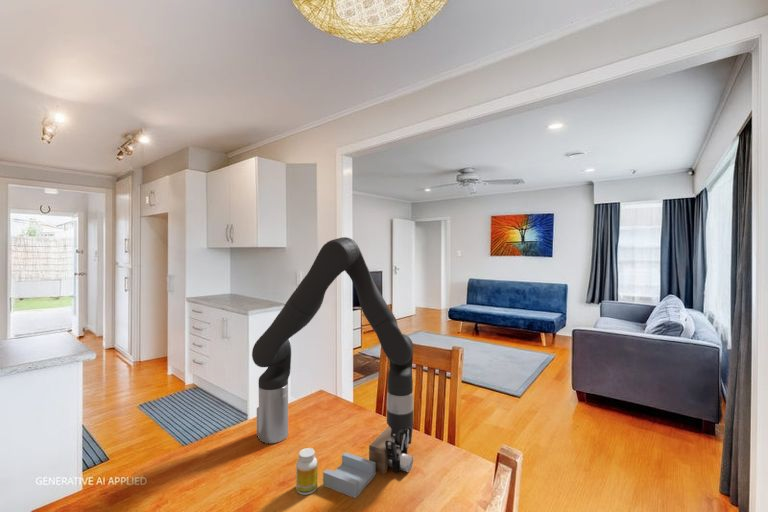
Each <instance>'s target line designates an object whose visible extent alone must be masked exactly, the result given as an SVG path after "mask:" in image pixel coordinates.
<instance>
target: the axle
mask: <svg viewBox="0 0 768 512" xmlns="http://www.w3.org/2000/svg"><path fill="white" fill-rule="evenodd" d="M396 452H397V453H398V451H396ZM413 463H414V457H413V455H411V454H408V453H407V454H405V453H402V452H401V455H400V471H402V472H403V471H404V472H406V473H411V471H412V468H413ZM387 467H391V468H392V460H390V459H388V457H387Z"/></svg>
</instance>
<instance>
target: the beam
mask: <svg viewBox="0 0 768 512" xmlns="http://www.w3.org/2000/svg"><path fill="white" fill-rule="evenodd" d="M390 435H391V428H390V426H389V425H388V426H387V427H386V428H385V429H384V430H383V431H382V432H381V433H380V434H379V435H378V436H376V438H375V439H374V440H372V442H371V443H370V444H369V445H368V460H370V461H373V462H376V472H379V473H381V474H386V473H387V472H388V466H387V452H386V446H385V442H386V440H387V441H389V440H390V439H391V436H390ZM395 445H396V444H395ZM396 446H398V447H400V446H399V445H396ZM396 451H397V450H396Z"/></svg>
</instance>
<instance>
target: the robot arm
mask: <svg viewBox="0 0 768 512" xmlns="http://www.w3.org/2000/svg"><path fill="white" fill-rule="evenodd" d="M344 272H345V273H346V274H347V275H348V276H349V278H350V280H351V281H352V283H353V287H354V288H355V290H356V294H357V298H358V302H359V305H360V306H359V307H360V308H361V311H362V313H363V315H364V317H365V318H366V320H367V322H368V324H369V325H370V326H371V328H372V330H373V331H374V332H375V334H376V336H377V339H378V342H379V343H380V346H381V348H382V350H383V352H384V354H385V356H386V357H387V359H388V360H389V369H388V374H387V375H388V376H387V394H386V424H387V425H388V426H390V428H391V435H390V436H391V439H390V440H389V441H387V440H386V442H385V446H386V452H387V457H388V459H390V460H392V467H391V471H392V472H394V473H397V474H398V473H400V472H401V470H400V455H401V452H402V453H405V454H408V450H409V448H410V445H411V444H412V437H413V430H414V394H413V393H414V392H413V388H414V387H413V385H414V384H413V382H414V381H413V379H414V378H413V359H414V343H413V341H412V339H411V338H410V336H408V335H407V334H404V333H402V331H401V330H400V328H399V326H398V322H397V321H398V320H397V319H396V316H395V314H394V313H393V312H392V310H391V309H390V307H389V305H388V304H387V302H386V300H385V299H384V297H383V295H382V293H381V292H380V290H379V288H378V286H377V284H376V283H375V281H374V278H373V276H372V274H371V272H370V269H369V268H368V265H367V264H366V261H365V259H364V256H363V254H362V252H361V249H360V247H359V245H358V243H357V242H356V241H355V240H353V239H352V238H350V237H347V236H344V237H338V238H334V239H330V240H329V241H327V242H326V243H324V244H323V245H322V247H321V248H320V250H319V251H318V254H317V255H316V257H315V259H314V261H313V263H312V265H311V266H310V269H309V270H308V271H307V273H306V275H305V276H304V277H303V279H302V280H301V281H300V283H299V284H298V285H297V287H296V289H295V290H294V291H292V292H293V293H292V294H291V295H290V297H289V298H288V300H287V301H286V303H285V304H284V306H283V308H282V309H281V310H280V312H278V314H277V316H276V317H275V318H274V320H273V321H272V323H271V324H270V325H269V327H268V328H267V329H266V330H265V331H264V332H263V333H262V334H261V336H259V338H258V339H257V340H256V342H255V343H254V345H253V347H252V351H251V357H252V362H253V363H254V364H255V366H257V367H259V368H266V370H264V372H263V373H262V374H261V375H260V376H259V377H258V407H257V408H256V437H257V436H259V437H258V439H260V440H259V441H260V442H261V441H262V442H261V443H263V442H265V443H264V444H268V443H269V444H270V445H271V444H276V443H279V442H282V441H284V440H285V439H286V438H287V437H288V436H289V378H290V375H291V364H292V345H291V343H290V338H292V337H293V336H295V335H296V334H298V333H299V332H300V331H301V330H302V329H304V328H305V327H306V326H307V325H308V324H309V323H310V322H311V321H312V320H313V319H314V316H316V315H317V313H318V311H319V310H320V309H321V307H322V305H323V302H324V299H325V295H326V292H327V290H328V288H329V287H330V286H331V284H332V283H333V282H334V281H335V280H336V279H337V278H338V277H339V275H341V274H342V273H344ZM269 444H268V445H269ZM395 444H396V445H399V446H400V447H398V446H396V445H395ZM396 450H397V451H398V453H397V452H396Z"/></svg>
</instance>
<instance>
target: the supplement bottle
mask: <svg viewBox="0 0 768 512" xmlns="http://www.w3.org/2000/svg"><path fill="white" fill-rule="evenodd" d="M295 467H296V468H295V469H296V470H295V472H296V473H295V474H296V475H295V478H296V479H295V481H296V482H295V488H296V492H297V493H299V494H300V495H303V496H308V495H311V494H313V493H314V492H315V491H316V490H317V488H318V459H317V458H316V451H315V449H314V448H312V447H306V448H303V449H301V450H299V452H298V460H297V461H296V465H295Z"/></svg>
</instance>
